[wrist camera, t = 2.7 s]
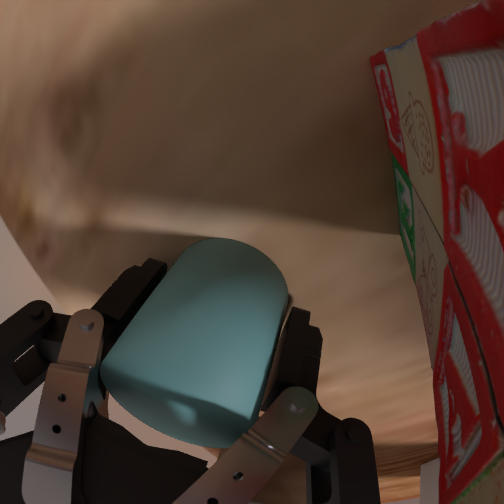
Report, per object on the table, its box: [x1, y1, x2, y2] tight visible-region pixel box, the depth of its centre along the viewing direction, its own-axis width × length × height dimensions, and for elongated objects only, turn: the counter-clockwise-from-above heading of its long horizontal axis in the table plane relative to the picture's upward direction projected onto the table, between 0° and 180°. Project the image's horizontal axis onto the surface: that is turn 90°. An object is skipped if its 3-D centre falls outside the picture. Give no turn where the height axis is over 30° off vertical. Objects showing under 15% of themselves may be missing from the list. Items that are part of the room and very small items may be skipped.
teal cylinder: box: [100, 238, 288, 448], centre depth 11 cm, size 5×5×6 cm
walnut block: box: [217, 416, 307, 504], centre depth 18 cm, size 7×7×6 cm
